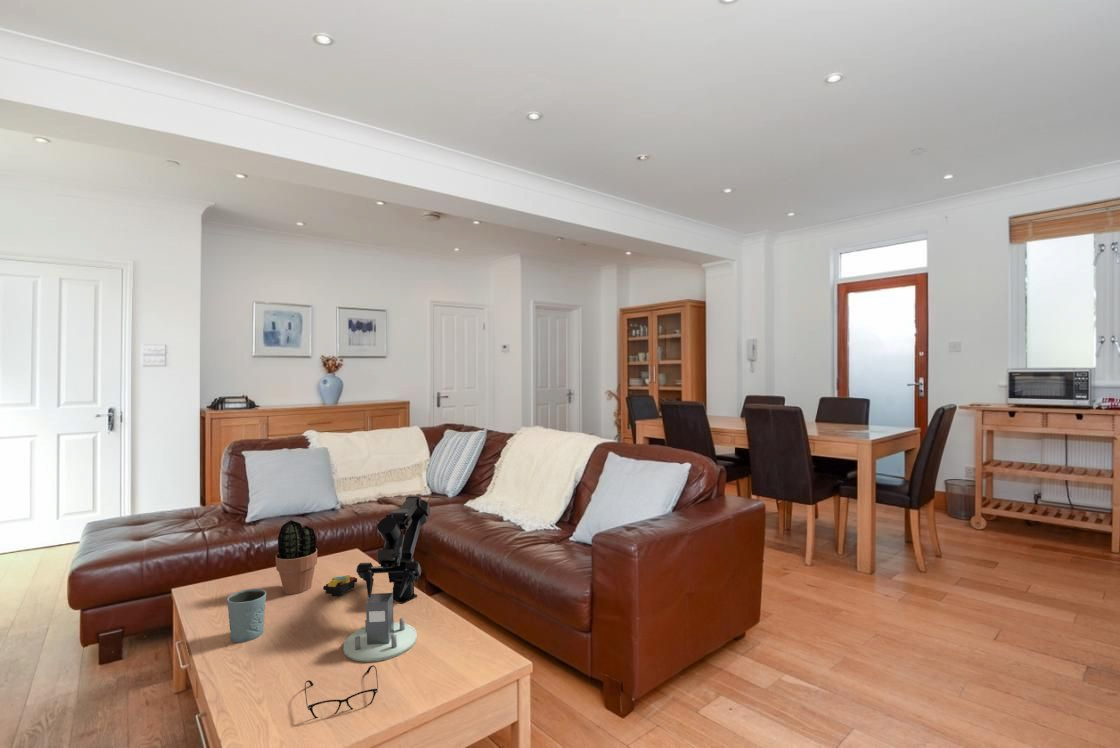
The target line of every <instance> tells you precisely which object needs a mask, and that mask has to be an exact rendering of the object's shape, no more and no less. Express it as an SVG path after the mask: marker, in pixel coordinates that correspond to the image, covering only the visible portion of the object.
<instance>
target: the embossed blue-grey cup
mask: <svg viewBox="0 0 1120 748" xmlns="http://www.w3.org/2000/svg"><path fill="white" fill-rule="evenodd" d="M266 601H267V591H266V590H264V589H261V588H252V589H251V588H250V589H243V590H240V591H237V592H234V593H232V594H230V595H229V596H228V597H227V599H226V603H227V611H228V623H229V625H228V627H229V631H230V634H229V635H230V636H229V637H230V640H231V641H232V642H234V643H245V642H249V641H253V640H255V639H258V638H259V637H261V636H262V635H263V634H264V630H265V629H264V627H265V626H264V625H265V610H266Z"/></svg>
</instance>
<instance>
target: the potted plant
mask: <svg viewBox="0 0 1120 748" xmlns="http://www.w3.org/2000/svg"><path fill="white" fill-rule="evenodd" d="M277 549H278V550H277V551H278V552H277V553H276V554H275V566H276V567H275V568H276V571H277V572H278V574H279V577H280V581H281V585H282V590H283V592H284V593H285V594H288V595H297V594H301V593H304V592H306V591H308V590H310V589H311V588H312V584H313V579H314V572H315V567H316V565H317V564H318V548H317V536H316V533H315V531H314V528H312V527H310V526H308V525H305V526H303V527H302V524H301V523H300V522H297V521H294V520H292V519H291V520H289V521H287V522H286V523H284V524H282V526H281V527H280V531H279V533H278V537H277Z"/></svg>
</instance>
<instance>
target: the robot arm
mask: <svg viewBox="0 0 1120 748" xmlns="http://www.w3.org/2000/svg"><path fill="white" fill-rule="evenodd" d="M430 516H431V507H430V504H429V502H428V501H426V500H424V499H422V497H421V496H419V495H409V496H406V498H405V501H404V502H403V503H402V504H401V505H400V507H399V508H398V509H394V510H391V511H390V512H389V513H388V514H387V513H386V516H385V517H384V518H382V519H381V520H380V521H378V524H377V531H378V533H379V534H380V537H381V538H382V539H383V541H384V543H383V544H384V545H383V547H382V549H377V555H376V561H377V562H378V564H379V565H380V566H374V565H373V564H372V562H360V563H358V565H357V566H356V570H355V571H356V573H357V575H358V576H359V578H360V579H362V580H363V581H364V582H365V585H366V590H367V598H368V599H369V598H370V596H371V594H373V586H374V580H375V579H374V576H375V574H386V573H387V575H388V581H389V583H390V584H391V583H393V587H392V593H393V601H395V602H399V603H401V604H404V603H406V602H409V601H411V600H413V599H415V598H416V597H418V594H417V593H415V582H417V581H418V580H419V577H421V573H422V567H421V565H420V562H419V561H418V560H414V557H413V556H414V552H415V548H416V545H417V541H418V538H419V534H420V531H421V527H423V525H424V524H426V523H427V521H428V520H429V517H430ZM404 530H405V533H404V532H403V531H404Z"/></svg>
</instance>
